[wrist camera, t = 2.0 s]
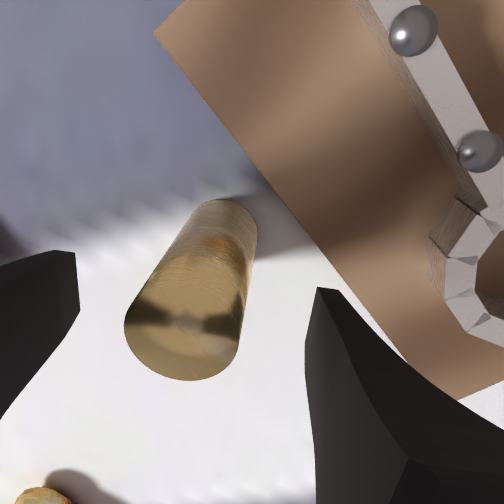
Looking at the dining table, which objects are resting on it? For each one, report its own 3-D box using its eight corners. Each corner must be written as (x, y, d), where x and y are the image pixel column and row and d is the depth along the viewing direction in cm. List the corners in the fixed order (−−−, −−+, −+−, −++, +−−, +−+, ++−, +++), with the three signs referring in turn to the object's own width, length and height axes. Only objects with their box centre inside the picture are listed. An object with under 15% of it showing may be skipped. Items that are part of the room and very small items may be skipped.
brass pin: (272, 240, 16) (262, 347, 10) (218, 277, 17) (178, 396, 11) (226, 184, 15) (184, 263, 9) (172, 226, 16) (100, 324, 10)
